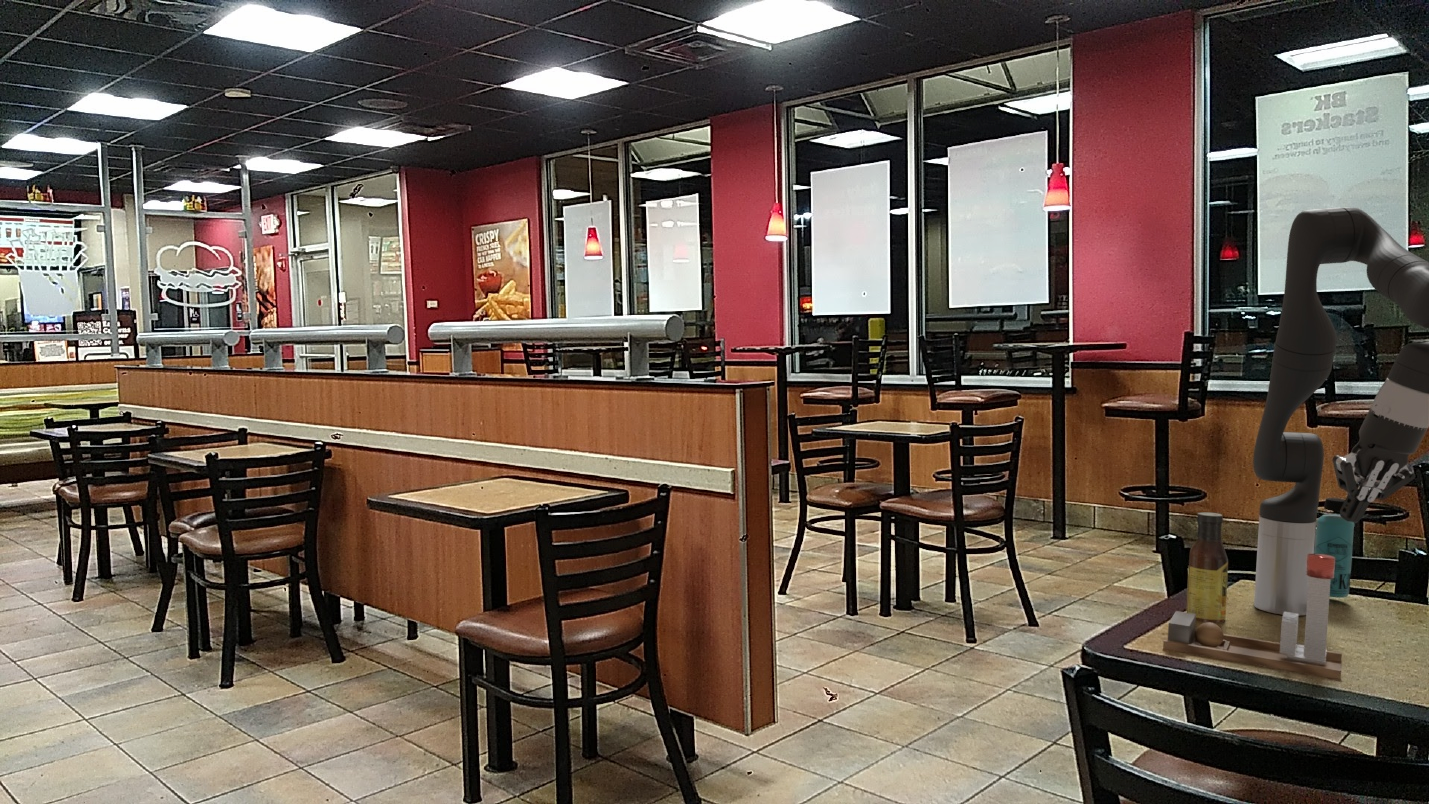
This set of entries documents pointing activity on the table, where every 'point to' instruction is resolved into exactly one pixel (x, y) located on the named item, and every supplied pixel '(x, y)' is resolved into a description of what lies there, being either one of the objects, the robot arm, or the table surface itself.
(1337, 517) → the beverage bottle
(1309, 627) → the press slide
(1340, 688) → the table surface
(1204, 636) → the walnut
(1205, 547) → the sauce bottle
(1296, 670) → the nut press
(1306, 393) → the robot arm
